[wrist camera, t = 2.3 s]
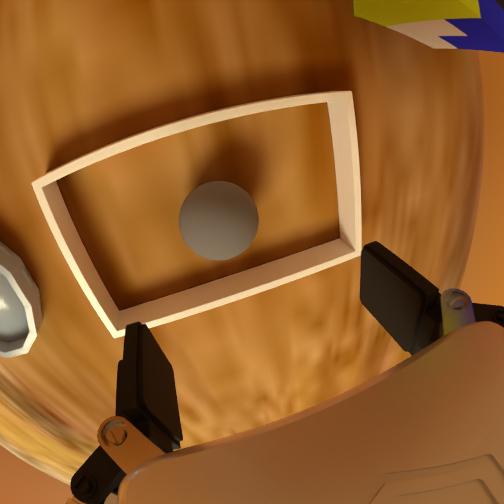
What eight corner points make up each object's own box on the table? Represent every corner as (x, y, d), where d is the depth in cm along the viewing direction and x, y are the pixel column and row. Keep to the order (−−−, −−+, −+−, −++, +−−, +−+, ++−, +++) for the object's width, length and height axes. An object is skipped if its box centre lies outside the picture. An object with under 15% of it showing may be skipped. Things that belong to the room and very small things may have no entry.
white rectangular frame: (45, 173, 15) (31, 182, 13) (332, 90, 18) (351, 91, 16) (116, 317, 22) (114, 338, 20) (345, 241, 25) (361, 254, 23)
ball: (168, 185, 18) (169, 210, 14) (238, 164, 19) (261, 182, 15) (188, 247, 21) (196, 286, 17) (252, 227, 22) (275, 260, 18)
